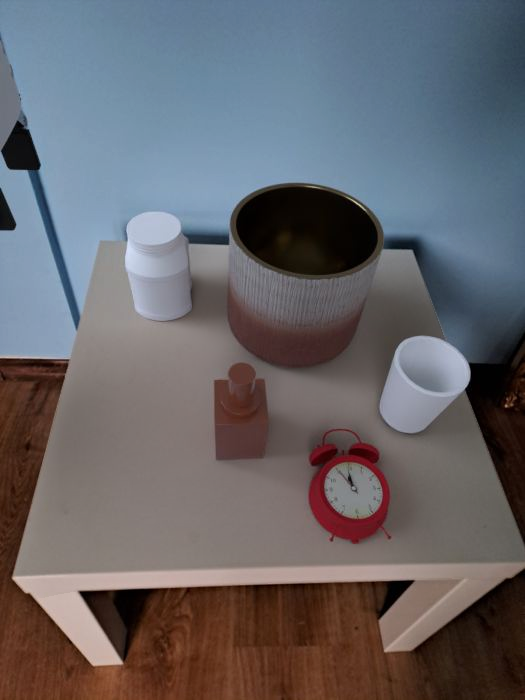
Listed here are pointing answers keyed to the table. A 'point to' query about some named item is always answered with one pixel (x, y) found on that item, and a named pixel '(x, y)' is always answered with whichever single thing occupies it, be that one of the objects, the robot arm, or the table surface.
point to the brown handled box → (240, 414)
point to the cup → (422, 383)
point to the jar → (158, 266)
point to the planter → (300, 271)
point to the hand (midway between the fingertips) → (12, 196)
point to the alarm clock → (349, 491)
